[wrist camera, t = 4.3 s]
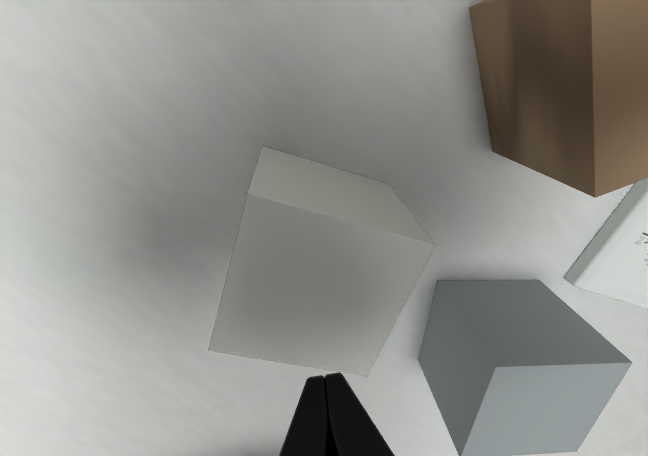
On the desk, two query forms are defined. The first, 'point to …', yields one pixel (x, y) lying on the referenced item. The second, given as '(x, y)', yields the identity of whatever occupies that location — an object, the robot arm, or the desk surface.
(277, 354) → the off-white cube
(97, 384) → the desk surface
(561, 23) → the walnut block
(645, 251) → the external hard drive
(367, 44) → the desk surface
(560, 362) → the slate-grey block
